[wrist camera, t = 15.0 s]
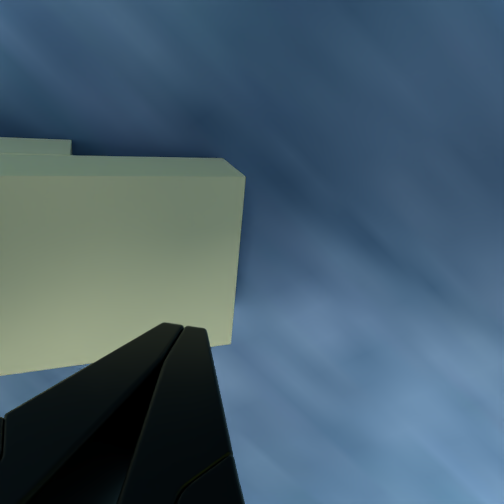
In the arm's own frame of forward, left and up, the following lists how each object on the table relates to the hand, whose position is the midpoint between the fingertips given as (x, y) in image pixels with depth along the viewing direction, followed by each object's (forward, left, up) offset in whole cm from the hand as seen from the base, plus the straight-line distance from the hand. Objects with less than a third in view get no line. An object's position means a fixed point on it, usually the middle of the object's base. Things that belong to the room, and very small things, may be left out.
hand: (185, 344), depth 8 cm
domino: (0, 0, -5) cm, 5 cm away
